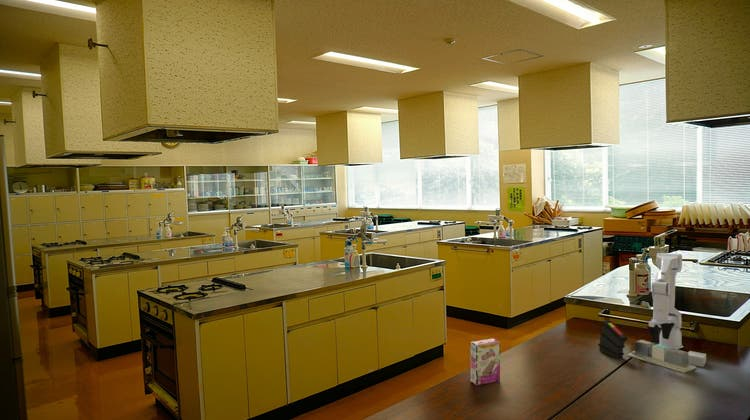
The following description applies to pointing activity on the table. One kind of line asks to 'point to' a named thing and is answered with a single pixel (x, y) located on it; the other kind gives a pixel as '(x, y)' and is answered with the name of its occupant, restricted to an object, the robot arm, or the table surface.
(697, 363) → the block
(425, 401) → the table surface
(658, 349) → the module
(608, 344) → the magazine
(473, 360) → the candy bar box
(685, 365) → the rail panel
